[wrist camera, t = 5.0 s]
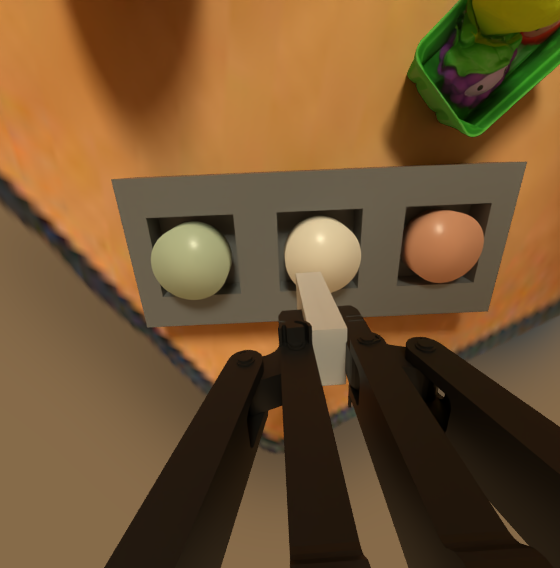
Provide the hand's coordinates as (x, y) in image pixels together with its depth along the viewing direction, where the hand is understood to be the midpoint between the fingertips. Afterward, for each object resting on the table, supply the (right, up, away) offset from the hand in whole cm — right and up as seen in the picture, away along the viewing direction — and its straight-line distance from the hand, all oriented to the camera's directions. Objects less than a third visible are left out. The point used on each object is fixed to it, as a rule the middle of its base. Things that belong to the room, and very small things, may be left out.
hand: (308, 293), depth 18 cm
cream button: (+2, +3, +7) cm, 8 cm away
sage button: (-9, +3, +7) cm, 12 cm away
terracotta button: (+12, +4, +9) cm, 16 cm away
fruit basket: (+13, +19, +5) cm, 24 cm away
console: (+2, +5, +11) cm, 12 cm away
